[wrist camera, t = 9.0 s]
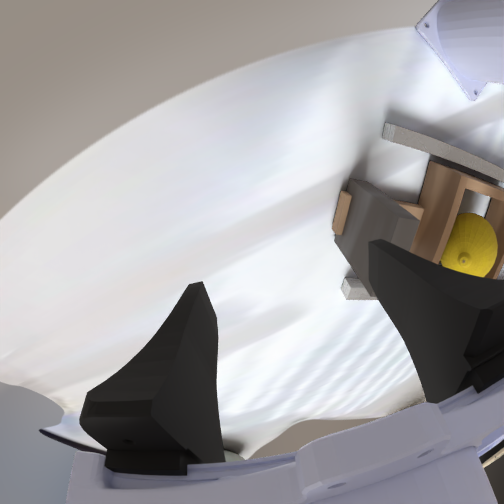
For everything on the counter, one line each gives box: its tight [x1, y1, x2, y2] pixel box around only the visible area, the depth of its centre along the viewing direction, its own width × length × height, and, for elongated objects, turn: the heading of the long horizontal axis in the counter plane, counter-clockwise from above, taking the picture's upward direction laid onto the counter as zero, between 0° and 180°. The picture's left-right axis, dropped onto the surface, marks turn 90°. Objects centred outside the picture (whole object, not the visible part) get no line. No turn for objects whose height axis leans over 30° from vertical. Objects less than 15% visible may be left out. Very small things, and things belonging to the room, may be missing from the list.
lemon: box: [440, 213, 498, 277], centre depth 20 cm, size 6×6×8 cm
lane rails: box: [341, 123, 504, 300], centre depth 23 cm, size 26×14×2 cm, turn 83°
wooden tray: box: [332, 161, 504, 297], centre depth 19 cm, size 18×11×7 cm, turn 83°
